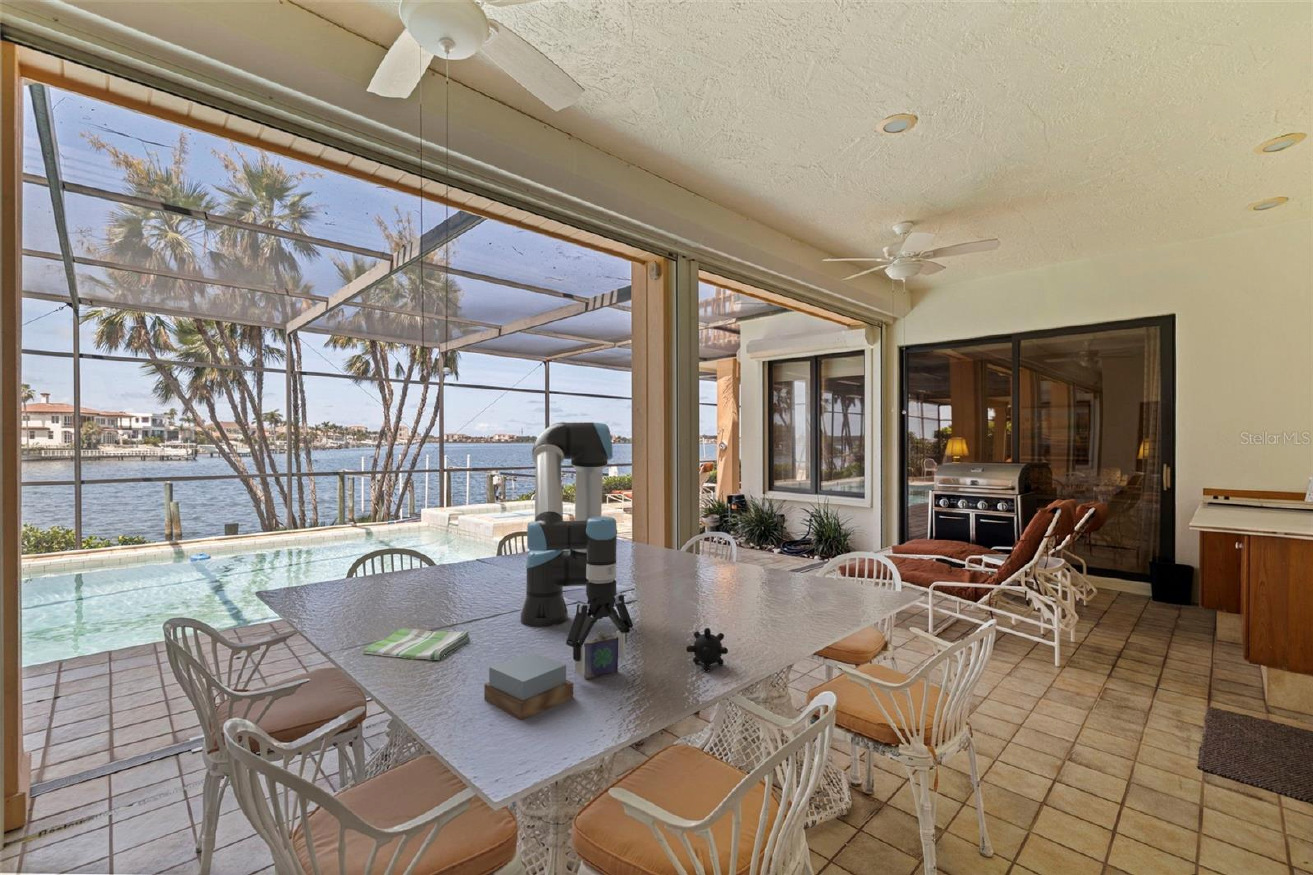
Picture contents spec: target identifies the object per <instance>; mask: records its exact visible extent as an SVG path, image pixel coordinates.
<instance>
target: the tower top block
mask: <svg viewBox="0 0 1313 875" xmlns="http://www.w3.org/2000/svg"><path fill="white" fill-rule="evenodd" d="M488 672H489V678H488V680H489V681H488V683H489V685H490V686H492V687H494V688H496V689H498V690H500V691H503V692H505V693H507V694H509V695H511V696H513V697H516V698H518V699H520V700H522V701H524V700H526V699H529V698H531V697H533V696H536V695H538V694H540V693H543V692H545V691H547V690H550V689H552V688H554V687H557V686H559V685H561V684H564V683H566V680H567V664H565V663H562V662H560V661H557V660H554V659H552V658H549V657H546V656H544V655H542V654H538V653H535V652H529V653H526V654H523V655H520V656H518V657H515V658H511V659H509V660H505V661H503V662H501V663H498V664H495V665H492V666H489V670H488Z"/></svg>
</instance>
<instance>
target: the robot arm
mask: <svg viewBox="0 0 1313 875" xmlns="http://www.w3.org/2000/svg"><path fill="white" fill-rule="evenodd" d="M612 441H613V440H612V436H611V430H610V427H609V426H608V424H606V423H603V422H601V423H600V422H594V421H593V422H584V421H583V422H565V421H563V422H556V423H553V424H551V425H549V426H548V427H547V428H545V429H544V430H542V432H541V433H540V434H539V435H538V436H537V437H536V440H534V443H533V447H532V450H531V452H532V453H531V455H532V456H531V458H532V461H533V463H534V465H535V469H534V470H535V475H534V476H535V477H534V478H535V479H534V480H535V481H534V482H535V484H534V488H535V489H534V491H535V492H534V521H530V522H528V523H527V528H526V532H527V533H526V537H527V538H526V545H527V549H528V550H529V552H528V553H527V556H526V564H525V568H526V584H525V585H526V594H525V600H524V602H523V606H522V609H521V612H520V623H521V624H523V625H526V626H529V627H551V626H558V625H560V624H562V623H565V622H566V621H567V620H568V619H569V612H568V608H567V605H566V602H565V598H564V593H563V592H564V590H563V588H564V587H585V595H586V597H587V602H586V603H584V604H583V603H577V605H576V613H575V616H574V619H573V622H572V625H571V627H570V630H569V632H568V635H567V638H566V641H565V644H566V646H569V647H570V648H572V658H573V661H574V673H576V674H578V675H580V676H583V675H585V647H584V642H585V641H587V637H588V635H589V634H590V632H591V630H592V628H593V626H594V625H595V624H596V623H597V622H598V621H599V620H602V619H604V618H609V619H610V621H612V623H613V624H614V625H615V627H616V628H617V629H618V630H617V631H615V636H617V637H618V638H619V639H618V659H621V660H626V644H627V642H628V635H627V634H629V633H631V629H632V628H634V624H633V622H632V619H631V617H630V613H629V611H628V608H627V606H626V604H625V596H624V594H619V593H617V581H616V580H617V542H618V541H617V535H618V530H617V528H618V526H617V520H616V518H614V517H611V516H602V513H603V512H602V509H603V508H602V506H603V471H604V469H605V468H606V467H607V466H608V460H609V461H610V460H611V459H613V453H614V452H613V444H612ZM564 460H571V461H570V465H571V466H572V467H573V468H574V469H575V495H574V496H575V498H574V501H575V503H574V505H575V506H574V520H564V515H563V514H564V510H563V509H564V508H563V485H562V484H563V482H562V481H563V480H562V478H563V476H562V464H563V462H564ZM614 606H615V607H616V608H614Z"/></svg>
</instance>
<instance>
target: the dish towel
mask: <svg viewBox="0 0 1313 875" xmlns="http://www.w3.org/2000/svg"><path fill="white" fill-rule="evenodd" d="M470 639H471V636H470V634H469V630H463V631H451V632H450V631H439V630H438V631H430V630H426V629H415V628H400V629H397V631H395V632H394V633H393V634H391V635H389V636H388V637H386V638H384V639H382V640H379V641H376V642H374V643H371V644H369V646H367V647H366V648H365V649H364V650H363V651H364V652H373V653H379V654H383V655H396V656H400V657H406V658H413V659H430V660H429V661H432V660H437V661H441V660H443V659H444V658H446V657H447V656H449V655H450V654H452V653H453V652H455V651H456V650H458V649H459V648H461V647H462V646H463V647H464V645H465V644H466V643H468V642H470ZM454 650H455V651H454ZM444 655H445V656H444ZM413 659H412V660H413ZM440 659H441V660H440Z"/></svg>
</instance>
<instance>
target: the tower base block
mask: <svg viewBox="0 0 1313 875" xmlns="http://www.w3.org/2000/svg"><path fill="white" fill-rule="evenodd" d="M483 692H484V694H483V695H484V696H483V698H484V701H486V702H488V703H489V704H492V705H493V706H495V707H497V708H498V709H500V710H502V711H503V712H506V713H507V714H509V715H511V716H512V717H515V718H516V719H518V720H519V721H522V720H524V719H527V718H529V717H531V716H533V715H537V714H539V713H541V712H543V711H546V710H548V709H550V708H552V707H555V706H557V705H560V704H562V703H564V702H566V701H569V700H571V699H573V698H574V682H572V681H570V680H568V679H566V683H564V684H561V685H559V686H557V687H554V688H552V689H550V690H547V691H545V692H543V693H540V694H538V695H536V696H533V697H531V698H529V699H526V700H524V701H522V700H520V699H518V698H516V697H513V696H511V695H509V694H507V693H505V692H503V691H500V690H498V689H496V688H494V687H492V686H490V685H489V682H487V683H484V691H483Z"/></svg>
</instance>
